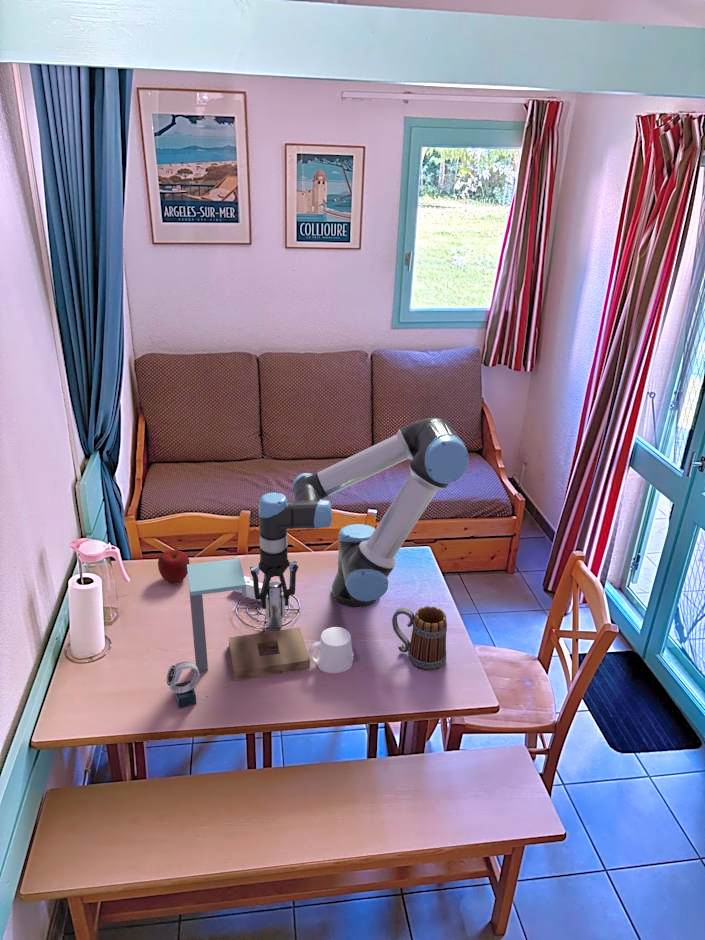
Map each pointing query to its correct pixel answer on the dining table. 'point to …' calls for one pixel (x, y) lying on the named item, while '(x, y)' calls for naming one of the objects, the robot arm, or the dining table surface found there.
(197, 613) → the light blue l-shaped bracket
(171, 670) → the watch
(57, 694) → the dining table surface
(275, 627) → the peg
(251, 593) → the napkin holder
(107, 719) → the dining table surface
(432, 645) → the mug
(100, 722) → the dining table surface
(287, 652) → the socket board
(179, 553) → the apple
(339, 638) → the mug
